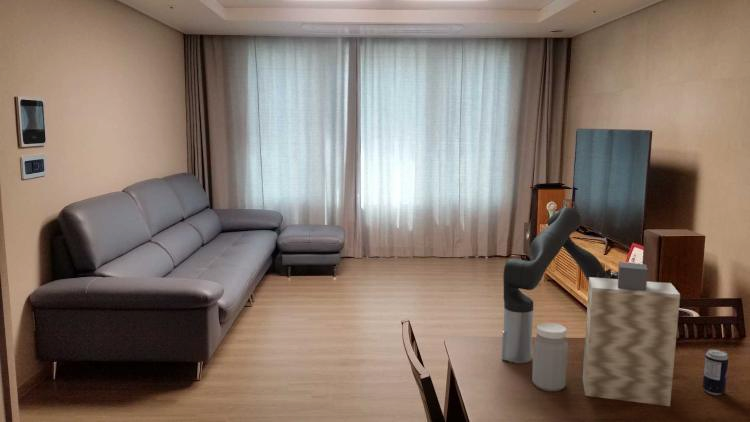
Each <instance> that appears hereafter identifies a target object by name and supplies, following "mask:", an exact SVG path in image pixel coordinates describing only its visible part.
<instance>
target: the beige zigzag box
mask: <svg viewBox="0 0 750 422" xmlns="http://www.w3.org/2000/svg"><path fill="white" fill-rule="evenodd" d="M617 281H618V279H606V278H593V277H589V281H588V288H587V290H588V292H587V306H586V309H587V310H586V321H585V322H586V323H585V334H584V353H583V368H582V369H583V370H582V383H583V384H582V385H583V389H584V390H583V391H584V396H585V397H586V396H587V397H594V398H602V399H609V400H618V401H625V402H635V403H641V404H648V405H656V406H657V405H658V406H665V407H671V399H672V387H673V378H674V377H673V376H674V368H675V367H674V366H675V358H676V357H675V354H676V345H677V334H678V333H677V332H678V323H679V313H680V312H679V311H680V300H681V294H680V292H679V291H678V290H677V289H676V287H675V286H674V285H673V284H672V282H660V281H647V284H646V291H640V290H630V289H620V288H618V283H617Z"/></svg>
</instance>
